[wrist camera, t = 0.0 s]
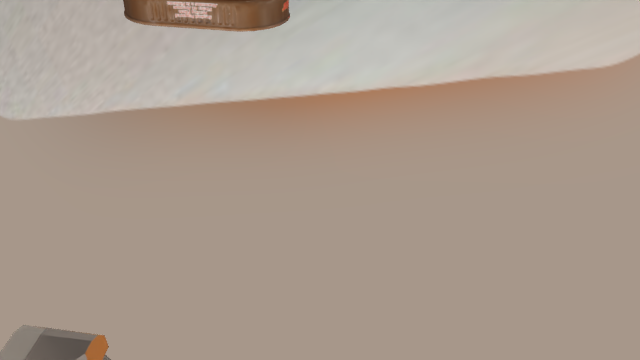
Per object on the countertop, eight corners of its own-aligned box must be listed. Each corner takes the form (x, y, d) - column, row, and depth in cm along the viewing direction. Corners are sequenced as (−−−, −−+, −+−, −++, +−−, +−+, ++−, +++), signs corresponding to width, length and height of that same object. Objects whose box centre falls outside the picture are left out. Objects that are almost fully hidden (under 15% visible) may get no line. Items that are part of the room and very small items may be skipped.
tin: (145, -4, 58) (109, 29, 51) (139, -37, 56) (102, -7, 49) (296, 5, 56) (280, 41, 50) (296, -28, 55) (279, 4, 48)
